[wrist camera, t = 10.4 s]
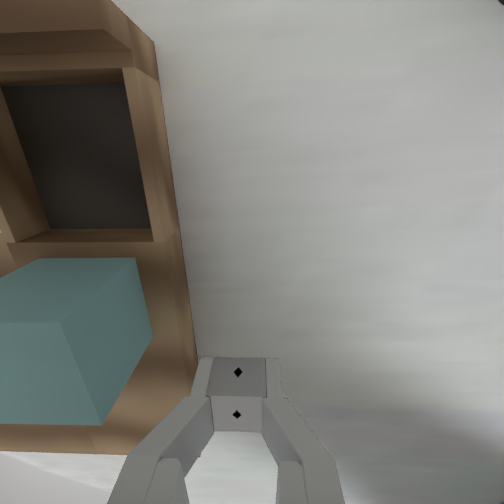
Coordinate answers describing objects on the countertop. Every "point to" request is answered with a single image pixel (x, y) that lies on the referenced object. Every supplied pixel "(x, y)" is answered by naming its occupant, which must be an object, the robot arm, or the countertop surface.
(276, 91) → the countertop surface
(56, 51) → the board
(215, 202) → the countertop surface
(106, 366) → the teal block
